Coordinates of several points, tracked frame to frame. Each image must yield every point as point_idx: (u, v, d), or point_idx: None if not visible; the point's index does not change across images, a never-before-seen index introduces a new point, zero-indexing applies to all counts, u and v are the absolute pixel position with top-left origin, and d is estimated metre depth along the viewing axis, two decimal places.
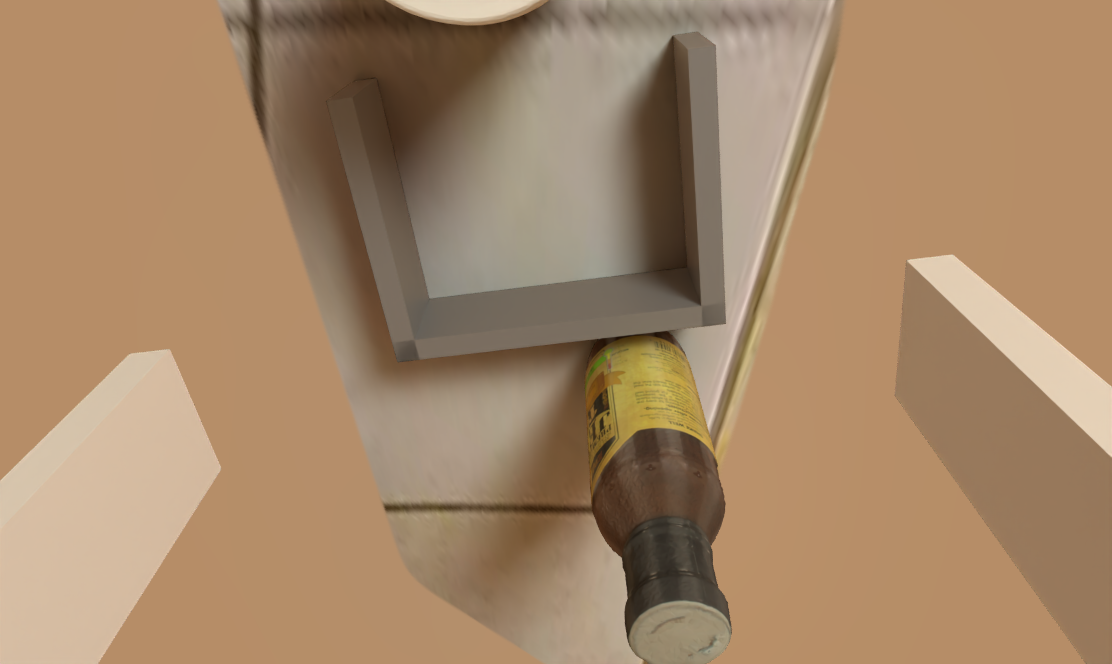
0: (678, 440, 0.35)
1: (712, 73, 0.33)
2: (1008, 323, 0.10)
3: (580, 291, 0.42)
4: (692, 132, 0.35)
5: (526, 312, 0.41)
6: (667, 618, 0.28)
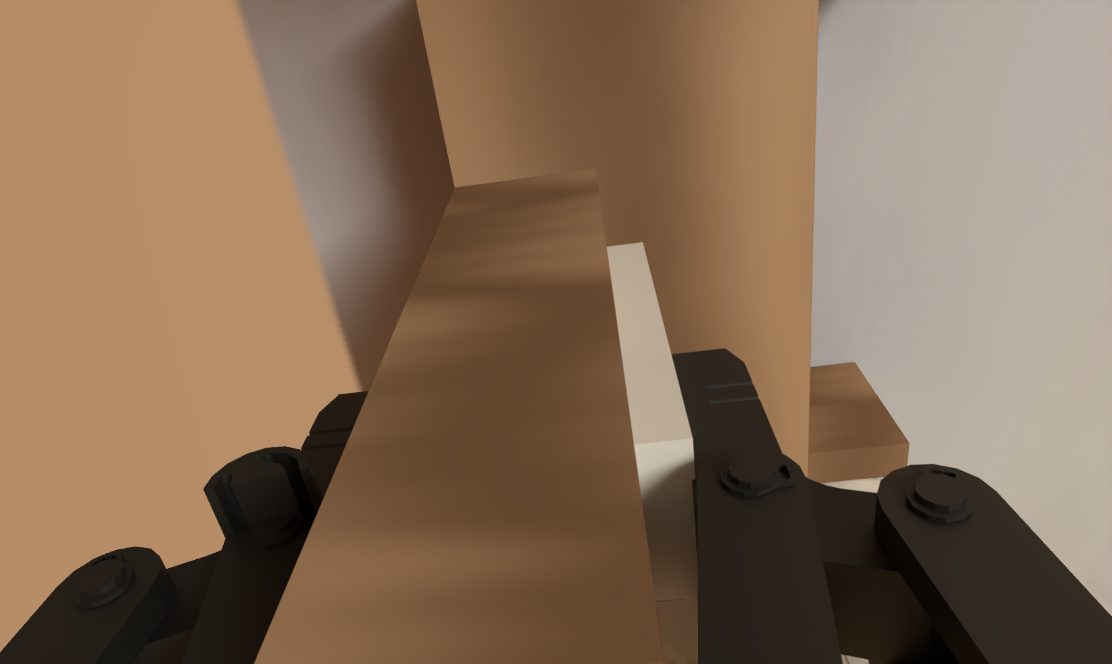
0: None
1: None
2: (637, 296, 0.13)
3: None
4: None
5: None
6: None
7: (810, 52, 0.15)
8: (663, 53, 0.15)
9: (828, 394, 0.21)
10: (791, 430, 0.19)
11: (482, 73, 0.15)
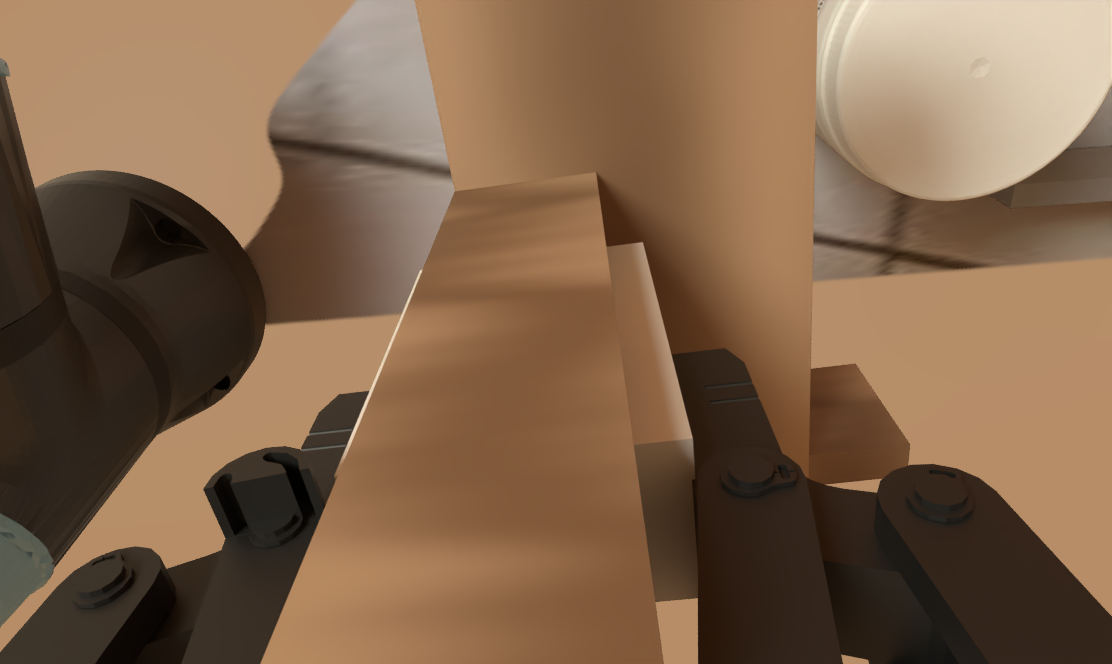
0: None
1: None
2: (637, 296, 0.13)
3: None
4: None
5: None
6: None
7: (809, 55, 0.15)
8: (662, 57, 0.15)
9: (829, 395, 0.21)
10: (792, 432, 0.19)
11: (483, 77, 0.15)
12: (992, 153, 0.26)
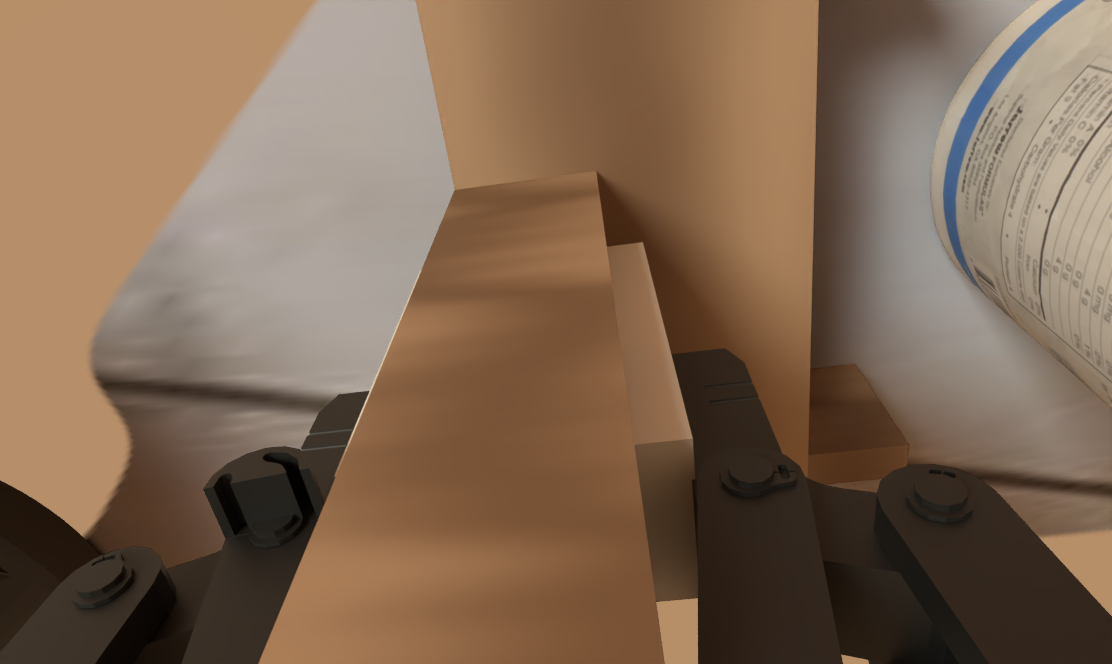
0: None
1: None
2: (637, 296, 0.13)
3: None
4: None
5: None
6: None
7: (810, 55, 0.15)
8: (663, 56, 0.15)
9: (828, 395, 0.21)
10: (791, 432, 0.19)
11: (483, 75, 0.15)
12: None
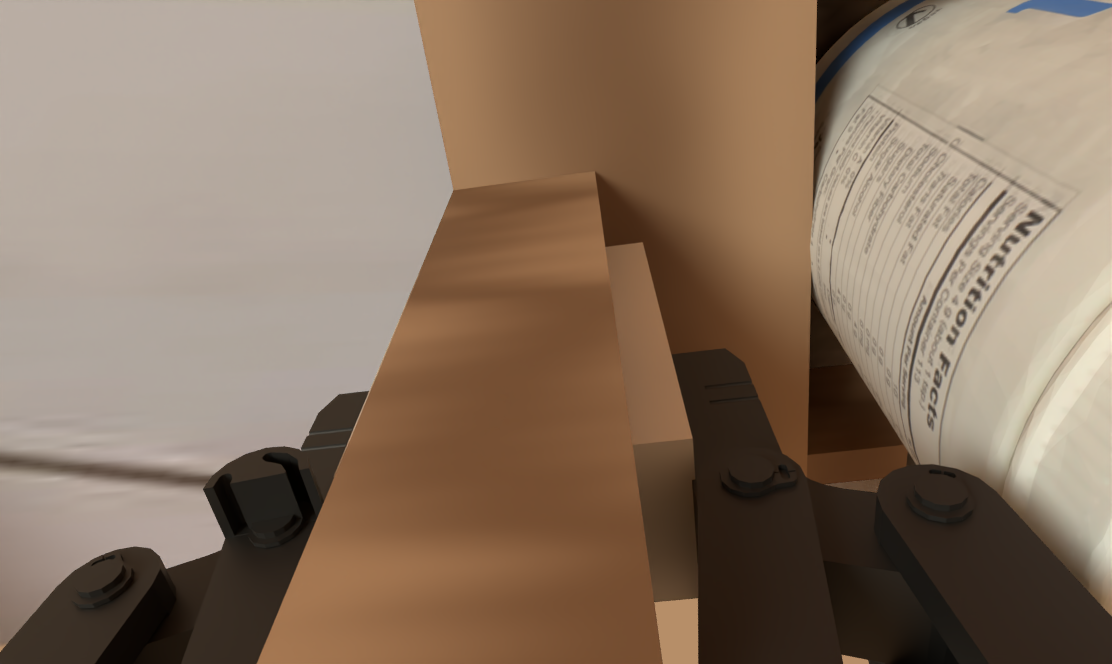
0: None
1: None
2: (637, 296, 0.13)
3: None
4: None
5: None
6: None
7: (808, 55, 0.15)
8: (662, 56, 0.15)
9: (827, 395, 0.21)
10: (790, 432, 0.19)
11: (481, 76, 0.15)
12: None
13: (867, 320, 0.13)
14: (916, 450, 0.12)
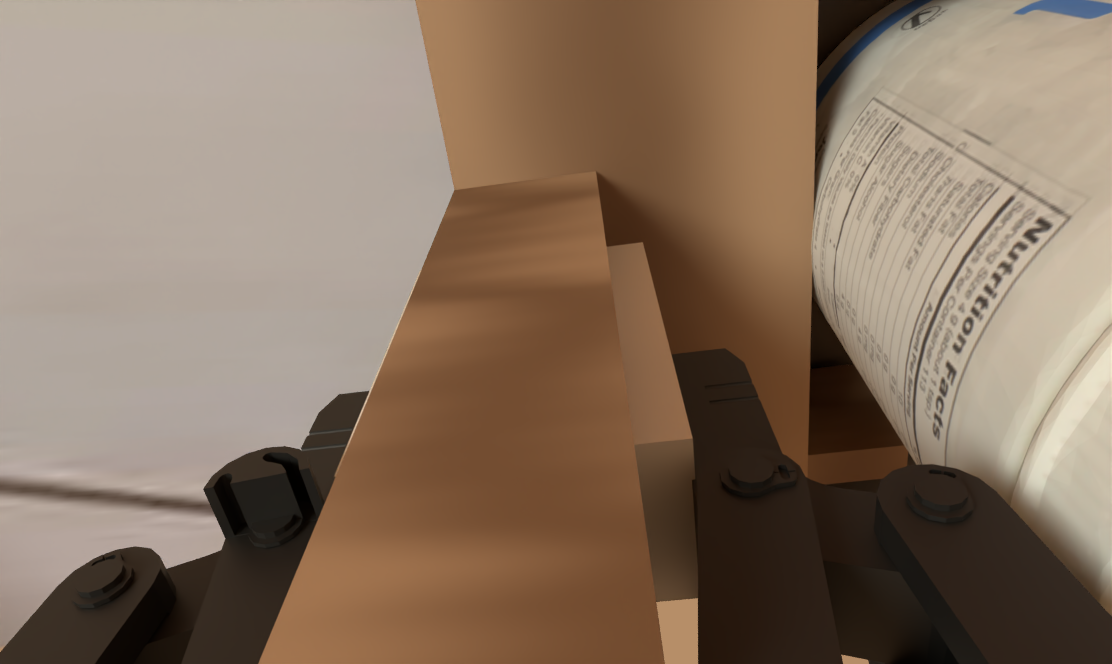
0: None
1: None
2: (637, 296, 0.13)
3: None
4: None
5: None
6: None
7: (810, 55, 0.15)
8: (663, 56, 0.15)
9: (828, 396, 0.21)
10: (791, 432, 0.19)
11: (482, 76, 0.15)
12: None
13: (871, 326, 0.13)
14: (921, 459, 0.12)
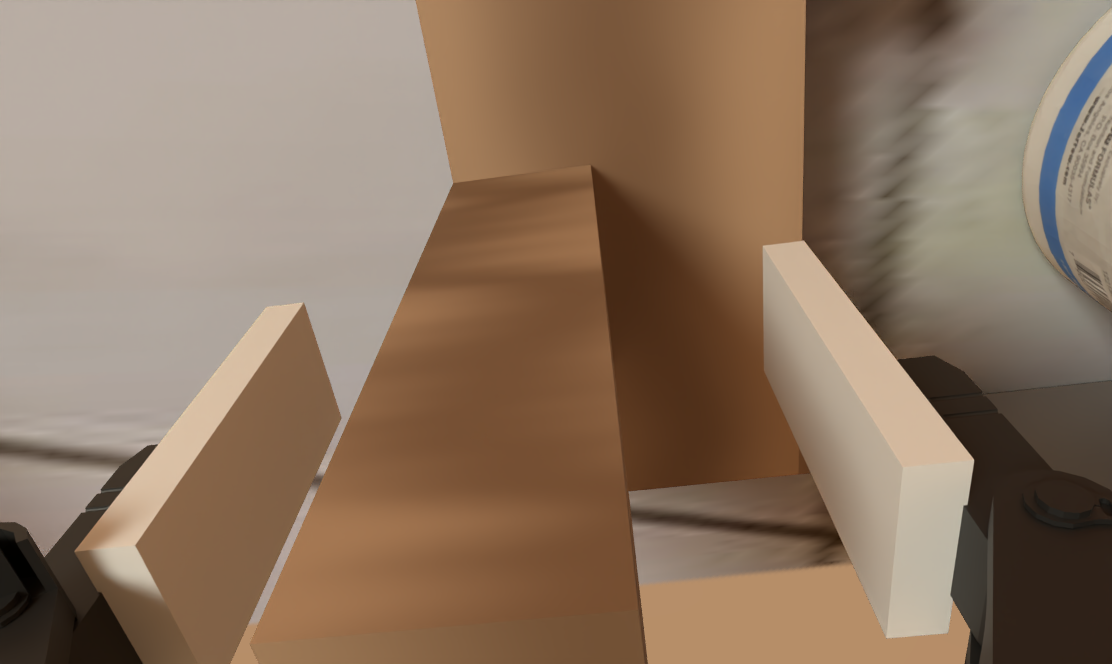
0: None
1: None
2: (826, 299, 0.12)
3: None
4: None
5: None
6: None
7: (798, 51, 0.15)
8: (655, 53, 0.15)
9: None
10: (782, 421, 0.19)
11: (481, 72, 0.15)
12: None
13: None
14: None
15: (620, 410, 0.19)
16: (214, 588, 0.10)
